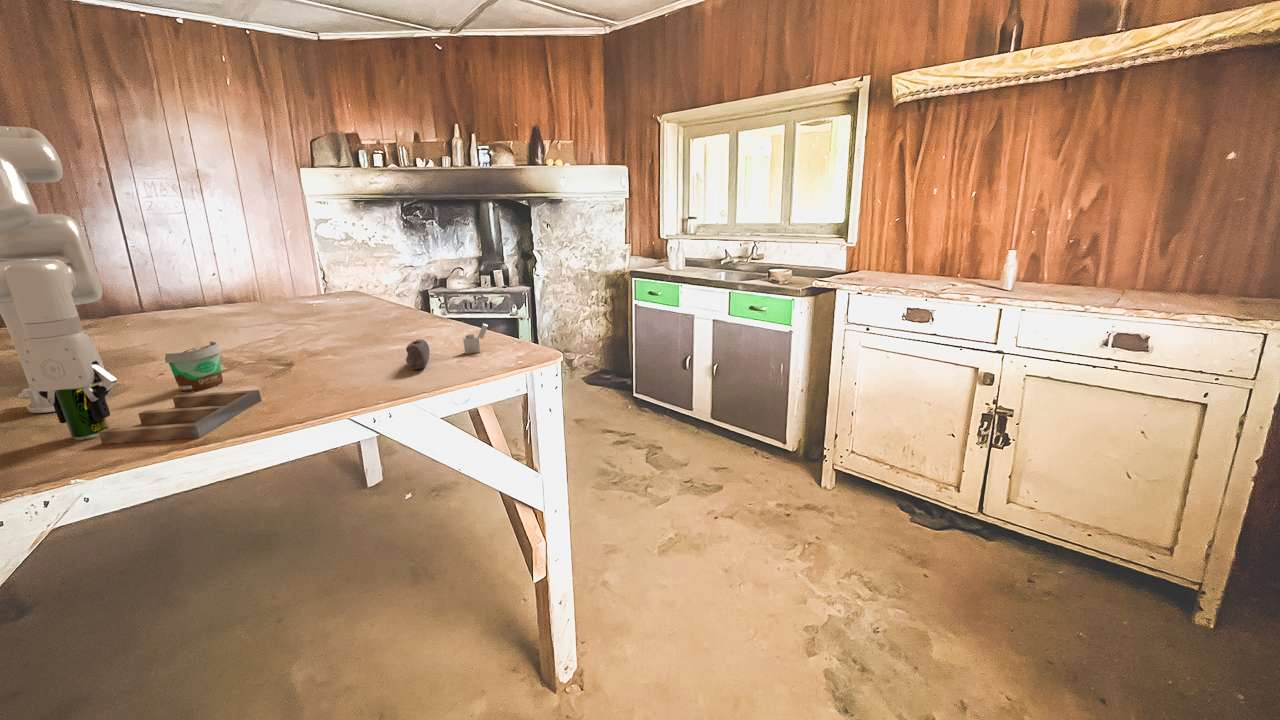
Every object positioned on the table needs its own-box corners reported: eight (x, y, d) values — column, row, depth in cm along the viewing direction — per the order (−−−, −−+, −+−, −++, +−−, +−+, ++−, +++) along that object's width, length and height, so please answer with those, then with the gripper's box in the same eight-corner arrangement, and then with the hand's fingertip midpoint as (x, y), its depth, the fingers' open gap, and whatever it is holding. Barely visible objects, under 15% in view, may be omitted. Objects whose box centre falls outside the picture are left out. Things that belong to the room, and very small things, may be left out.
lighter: (465, 353, 156) (461, 326, 154) (465, 352, 158) (461, 325, 156) (490, 351, 158) (487, 323, 156) (490, 349, 160) (487, 322, 157)
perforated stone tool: (416, 358, 154) (412, 334, 152) (435, 356, 155) (432, 332, 153) (405, 374, 140) (400, 347, 138) (426, 372, 141) (422, 345, 139)
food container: (195, 395, 130) (184, 354, 127) (174, 394, 132) (162, 354, 129) (241, 378, 142) (231, 341, 139) (221, 378, 143) (211, 340, 140)
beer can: (65, 442, 106) (43, 383, 102) (85, 431, 111) (64, 374, 107) (98, 438, 107) (77, 379, 104) (116, 428, 112) (97, 371, 109)
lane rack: (102, 444, 104) (98, 432, 103) (180, 405, 124) (177, 395, 123) (199, 437, 105) (196, 425, 105) (261, 400, 125) (258, 389, 124)
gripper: (-17, 336, 99) (20, 430, 104) (85, 331, 100) (116, 423, 105) (24, 327, 106) (57, 415, 111) (119, 322, 107) (146, 409, 112)
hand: (85, 418), depth 108 cm, fingers closed on beer can, 5 cm apart
